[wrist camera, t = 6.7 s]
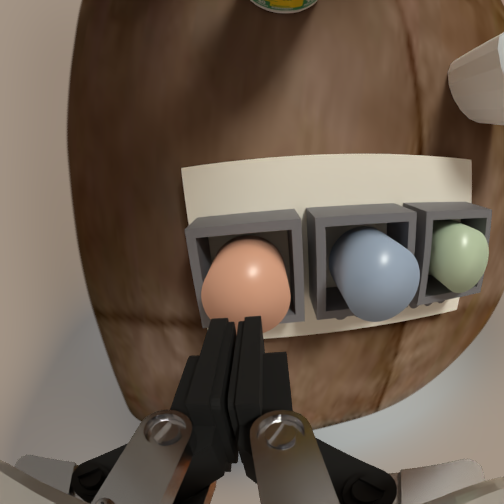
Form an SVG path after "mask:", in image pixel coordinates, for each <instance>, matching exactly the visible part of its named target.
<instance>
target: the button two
mask: <svg viewBox="0 0 504 504" xmlns="http://www.w3.org/2000/svg"><path fill="white" fill-rule="evenodd" d="M329 270H330V273H331V276H332V278H333V280H334V281H335V283H336V285H337V287H338V289H339V290H340V292H341V294H342V296H343V298H344V299H345V301H346V303H347V305H348V307H349V309H350V310H351V311H352V312H353V313H354V314H355V315H356V316H357V317H358V318H360V319H362V320H365V321H370V322H380V321H384V320H388V319H390V318H392V317H394V316H396V315H398V314H399V313H400V312H402V311H403V310H404V309H405V308H406V307H407V306H408V305H409V304H410V302H411V301H412V299H413V298H414V296H415V294H416V291H417V289H418V285H419V280H420V270H419V265H418V262H417V260H416V258H415V257H414V255H413V254H412V253H411V252H410V251H409V250H408V249H406V248H405V247H403V246H402V245H400V244H399V243H398V242H396V241H395V240H393V239H392V238H390V237H389V236H387V235H386V234H384V233H383V232H381V231H380V230H378V229H376V228H373V227H369V226H359V227H355V228H352V229H350V230H348V231H346V232H345V233H344V234H342V235H341V236H340V237H339V238H338V239H337V241H336V242H335V244H334V245H333V247H332V249H331V252H330V256H329Z"/></svg>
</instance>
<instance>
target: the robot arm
mask: <svg viewBox="0 0 504 504" xmlns="http://www.w3.org/2000/svg"><path fill="white" fill-rule="evenodd" d="M238 453H239V454H240V457H241V461H242V463H243V465H244V469H245V472H246V475H247V476H248V477H249V478H250V479H251V480H253V481H254V482H255V483H257V485H258V490H259V496H260V502H261V504H504V477H500V478H495V479H491V480H487V481H485V477H484V472H483V470H482V467H481V465H480V464H478V463H477V462H476V461H474V460H471V459H462V460H457V461H452V462H448V463H443V464H437V465H432V466H426V467H419V468H412V469H404V470H401V471H400V472H399V473H391V474H388V473H386V472H385V471H383V470H381V469H379V468H376V467H374V466H372V465H369V464H367V463H365V462H363V461H360V460H358V459H356V458H354V457H352V456H350V455H348V454H346V453H344V452H342V451H340V450H338V449H336V448H334V447H332V446H330V445H328V444H326V443H324V442H322V441H321V440H319V439H317V438H315V436H314V433H313V430H312V428H311V425H310V423H309V422H308V420H307V419H306V418H305V417H304V416H302V415H301V414H299V413H296V412H294V411H293V410H292V400H291V390H290V381H289V372H288V363H287V354H286V352H274V353H265V350H264V340H263V330H262V319H261V316H250V317H245V318H244V321H239V322H238V329H237V335H236V328H235V323H234V322H229V320H228V318H213V319H211V321H210V324H209V327H208V331H207V334H206V337H205V340H204V343H203V347H202V350H201V353H200V356H189V358H188V360H187V363H186V366H185V369H184V371H183V374H182V377H181V380H180V383H179V386H178V388H177V391H176V394H175V397H174V400H173V403H172V406H171V409H170V410H161V411H157V412H154V413H152V414H150V415H149V416H147V417H146V418H145V419H144V420H143V421H142V422H141V423H140V425H139V427H138V428H137V430H136V431H135V433H134V435H133V436H132V438H131V440H130V441H129V443H128V444H125V445H123V446H121V447H119V448H117V449H114V450H112V451H110V452H108V453H105V454H103V455H101V456H98V457H96V458H93V459H91V460H89V461H86V462H84V463H82V464H80V465H77V464H76V463H75V462H69V461H62V460H56V459H50V458H44V457H39V456H34V455H25V456H23V457H21V458H20V459H19V460H18V461H17V462H16V464H15V467H13V466H11V465H10V464H8V463H6V462H3V461H1V460H0V504H210V502H211V499H212V497H213V494H214V491H215V488H216V480H218V479H219V478H221V477H222V476H224V473H225V472H231V464H232V463H237V462H238Z"/></svg>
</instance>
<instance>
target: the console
mask: <svg viewBox="0 0 504 504" xmlns="http://www.w3.org/2000/svg"><path fill="white" fill-rule="evenodd" d="M181 172H182V180H183V188H184V195H185V203H186V210H187V217H188V224H189V226H188V227H187V228H186V229H185V235H186V242H187V248H188V254H189V259H190V265H191V271H192V276H193V282H194V287H195V292H196V297H197V302H198V307H199V312H200V317H201V322H202V326H203V328H207V330H208V327H209V324H210V321H211V319H210V318H209V317H208V316H207V314H206V312H205V310H204V308H203V304H202V300H201V290H202V285H203V282H204V280H205V278H206V276H207V273H208V271H209V269H210V267H211V265H212V263H213V260H214V258H215V256H216V254H217V252H218V251H219V249H220V248H221V247H222V246H223V245H224V244H225V243H226V242H227V241H229V240H231V239H233V238H235V237H238V236H244V235H253V236H258V237H261V238H264V239H266V240H268V241H269V242H271V243H272V244H273V245H274V246H275V247H276V248H277V249H278V250H279V252H280V253H281V255H282V257H283V260H284V264H285V269H286V274H287V279H288V283H289V288H290V295H291V298H290V306H289V309H288V311H287V313H286V315H285V317H284V318H283V320H282V321H281V322H280V323H279V324H278V325H277V326H276V327H274V328H273V329H271V330H269V331H267V332H265V333H263V339H267V338H280V337H292V336H302V335H312V334H321V333H329V332H337V331H345V330H352V329H359V328H366V327H372V326H378V325H384V324H390V323H396V322H401V321H407V320H412V319H417V318H422V317H427V316H431V315H436V314H440V313H445V312H449V311H453V310H457V306H458V302H459V297H462V296H466V295H471V294H475V293H479V292H480V291H481V286H482V281H483V276H484V273H483V275H482V277H481V278H480V280H479V281H478V282H477V284H476V285H475V286H474V287H472V288H471V289H470V290H468V291H466V292H463V293H455V292H452V291H451V290H449V289H448V288H447V287H446V286H445V285H443V284H442V283H441V282H440V281H438V280H437V279H436V278H435V277H433V276H432V275H431V274H430V273H429V265H430V255H431V245H432V232H433V220H445V219H452V220H455V221H457V222H459V223H462V224H464V225H467V226H469V227H471V228H474V229H476V230H478V231H480V232H481V233H482V234H483V235H484V236H485V238H486V240H487V243H488V245H489V237H490V228H491V217H492V210H491V209H488V208H485V207H482V206H478V205H475V204H472V203H471V200H472V161H471V160H469V159H460V158H449V157H437V156H421V155H399V154H326V155H303V156H286V157H272V158H260V159H249V160H240V161H230V162H222V163H214V164H206V165H199V166H192V167H185V168H181ZM359 226H369V227H373V228H376V229H378V230H380V231H381V232H383V233H384V234H386V235H387V236H389V237H390V238H392V239H393V240H395V241H396V242H398V243H399V244H400V245H402V246H403V247H405V248H406V249H408V250H409V251H410V252H411V253H412V254H413V255H414V257H415V258H416V260H417V262H418V265H419V270H420V280H419V285H418V289H417V291H416V294H415V296H414V298H413V299H412V301H411V302H410V304H409V305H408V306H407V307H406V308H405V309H404V310H403V311H402V312H400V313H399V314H398V315H396V316H394V317H392V318H390V319H388V320H384V321H380V322H370V321H365V320H362V319H360V318H358V317H357V316H356V315H355V314H354V313H353V312H352V311H351V310H350V309H349V307H348V305H347V303H346V301H345V299H344V298H343V296H342V294H341V292H340V290H339V289H338V287H337V285H336V283H335V281H334V280H333V278H332V276H331V273H330V270H329V256H330V252H331V249H332V247H333V245H334V244H335V242H336V241H337V239H338V238H339V237H340V236H341V235H342V234H344V233H345V232H346V231H348V230H350V229H352V228H355V227H359Z"/></svg>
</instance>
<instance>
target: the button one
mask: <svg viewBox="0 0 504 504" xmlns="http://www.w3.org/2000/svg"><path fill="white" fill-rule="evenodd" d="M290 298H291V295H290V288H289V283H288V279H287V274H286V269H285V264H284V260H283V257H282V255H281V253H280V252H279V250H278V249H277V248H276V247H275V246H274V245H273V244H272V243H271V242H269V241H268V240H266V239H264V238H261V237H258V236H253V235H244V236H238V237H235V238H233V239H231V240H229V241H227V242H226V243H225V244H224V245H223V246H222V247H221V248H220V249H219V251H218V252H217V254H216V256H215V258H214V260H213V263H212V265H211V267H210V269H209V271H208V273H207V276H206V278H205V280H204V282H203V285H202V290H201V300H202V304H203V308H204V310H205V312H206V314H207V316H208V317H209V318H210V319H213V318H228V320H229V322H234V323H235V328H236V335H237V329H238V322H239V321H244V318H245V317H250V316H261V319H262V330H263V333H265V332H267V331H269V330H271V329H273V328H274V327H276V326H277V325H278V324H279V323H280V322H281V321H282V320H283V318H284V317H285V315H286V313H287V311H288V309H289V306H290Z"/></svg>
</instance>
